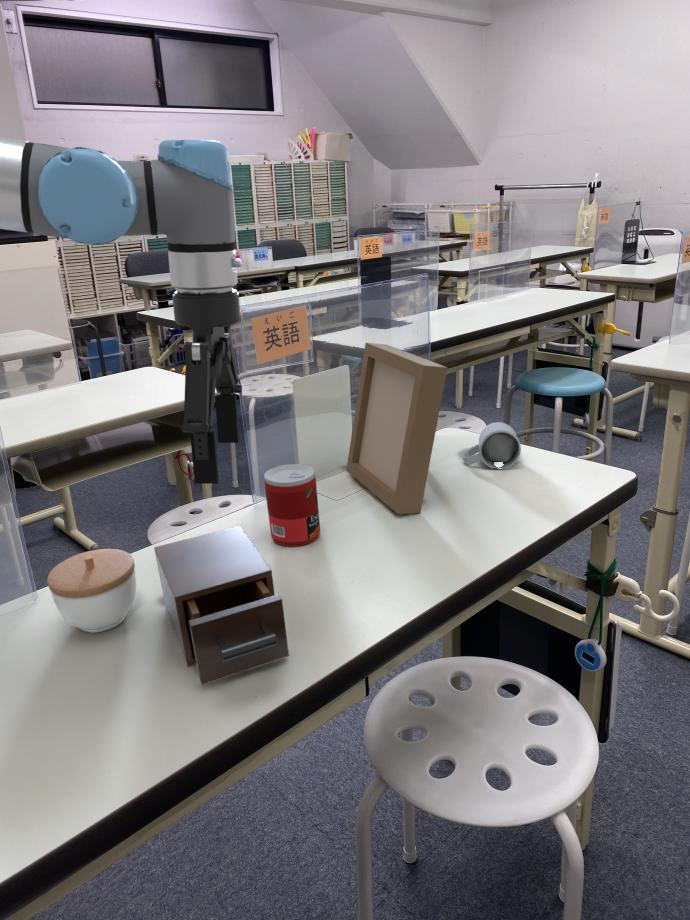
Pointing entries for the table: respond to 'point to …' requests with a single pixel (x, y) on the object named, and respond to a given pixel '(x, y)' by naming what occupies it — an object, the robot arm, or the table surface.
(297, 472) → the canned food
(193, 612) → the drawer
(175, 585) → the cabinet
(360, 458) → the photo frame
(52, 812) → the table surface
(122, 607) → the trinket box
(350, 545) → the table surface
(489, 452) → the ceramic mug
